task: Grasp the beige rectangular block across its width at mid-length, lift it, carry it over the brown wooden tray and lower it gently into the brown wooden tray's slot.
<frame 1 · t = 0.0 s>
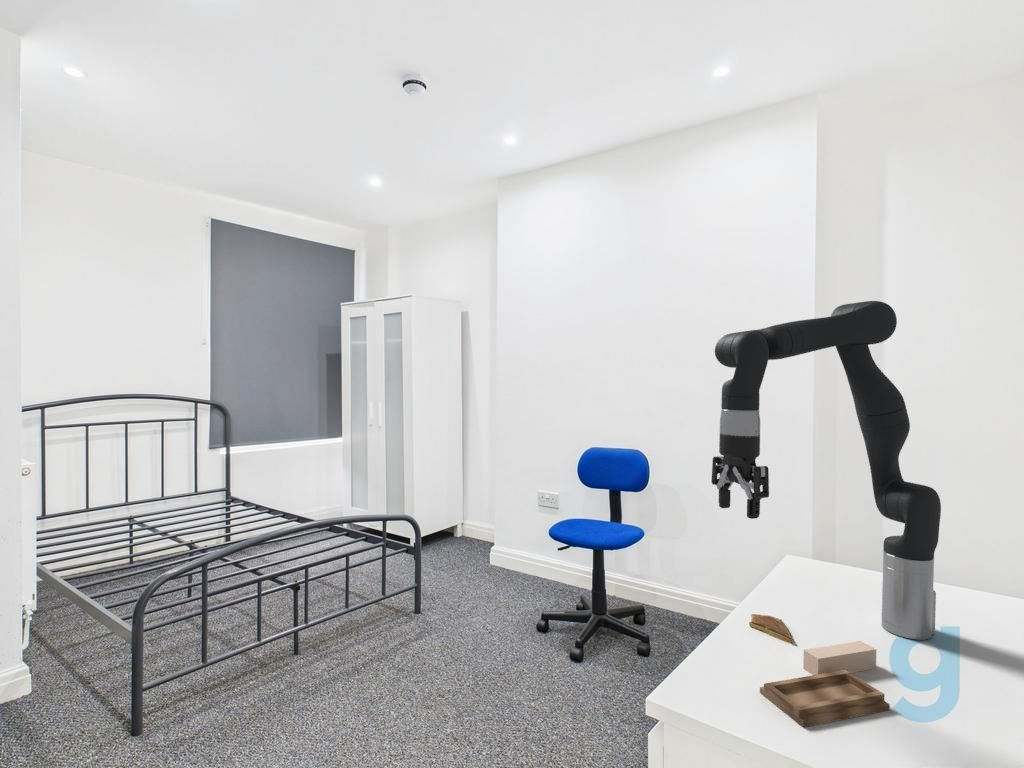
hand: (738, 512, 111), 29 cm above the table, fingers open, 8 cm apart
brown wooden tray: (823, 701, 97), on the table
beige rectangular block: (839, 669, 108), on the table
shard: (775, 632, 124), on the table
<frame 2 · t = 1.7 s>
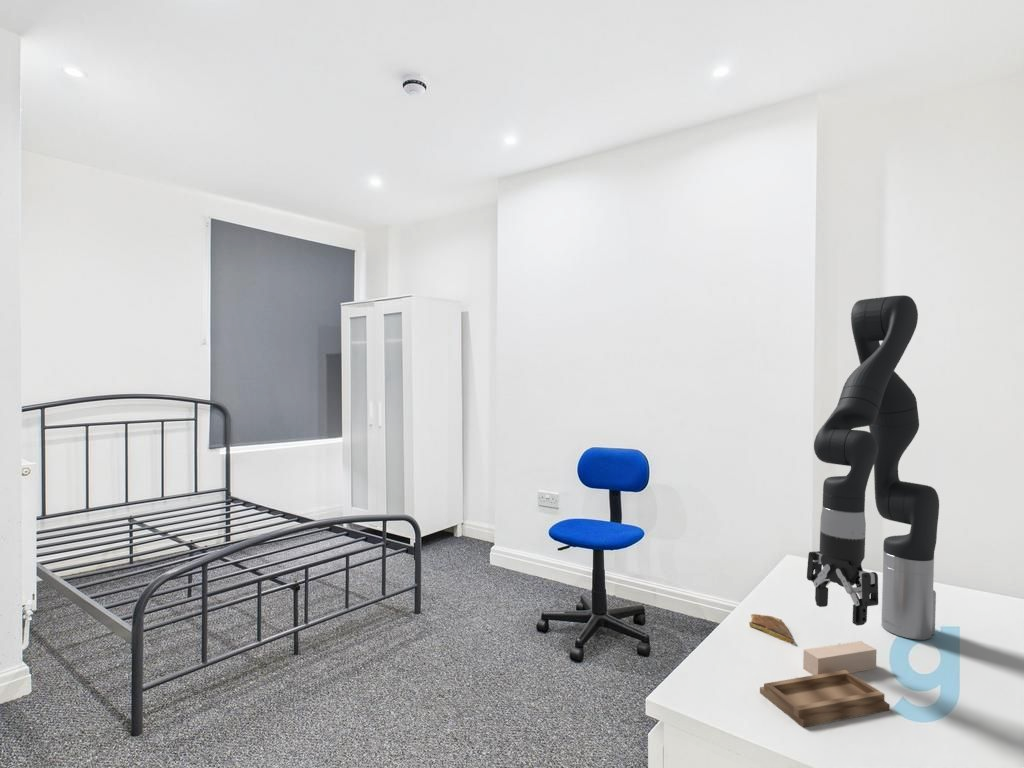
hand: (839, 614, 107), 11 cm above the table, fingers open, 8 cm apart
nothing on the table moved.
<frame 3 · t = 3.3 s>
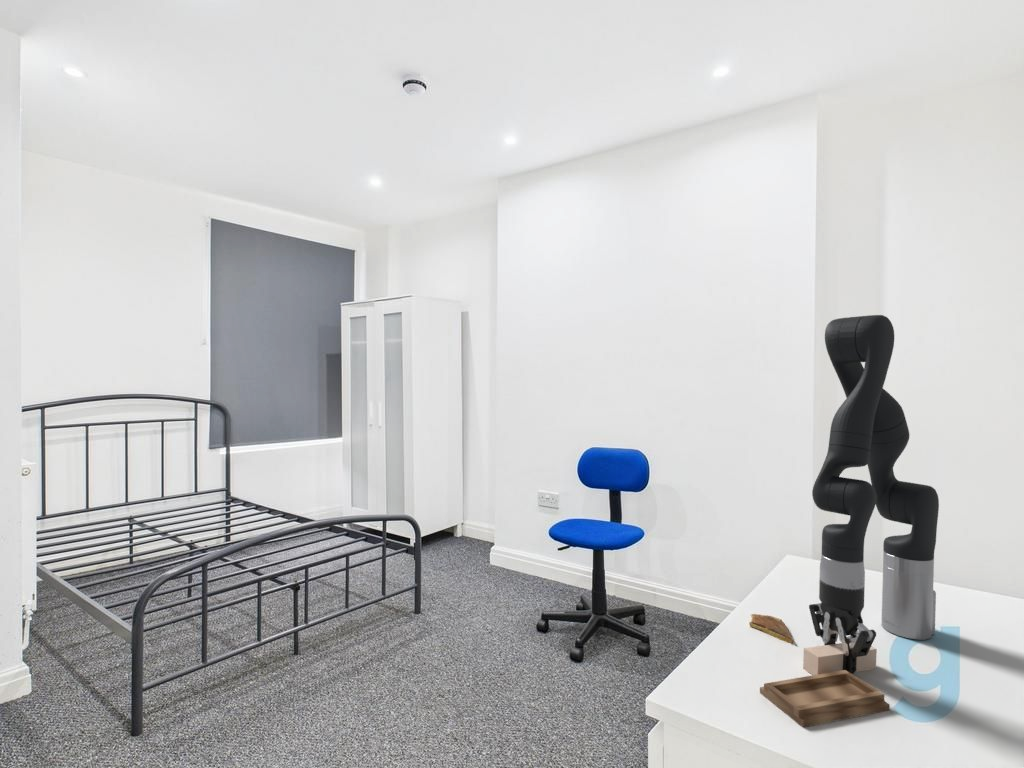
hand: (839, 667, 108), 0 cm above the table, fingers closed on beige rectangular block, 3 cm apart
beige rectangular block: (839, 668, 108), on the table, touching gripper
everything else where it was.
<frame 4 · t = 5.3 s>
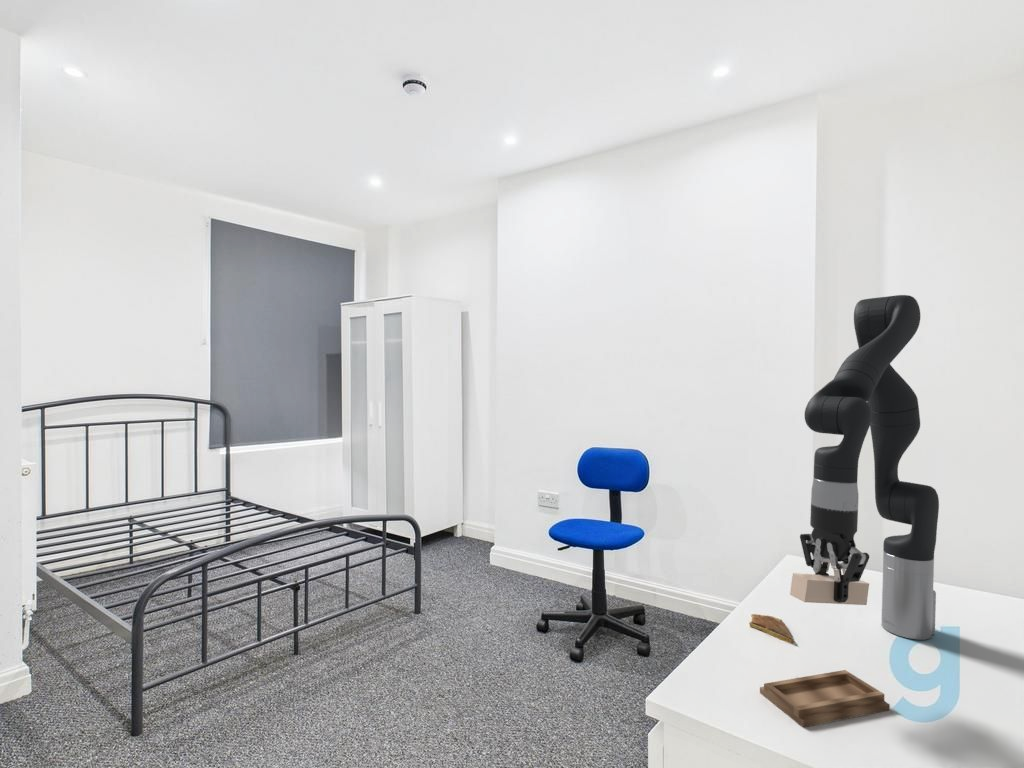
hand: (830, 596, 102), 16 cm above the table, fingers closed on beige rectangular block, 3 cm apart
beige rectangular block: (828, 599, 102), point 16 cm above the table, tilted 8°, touching gripper
everything else where it was.
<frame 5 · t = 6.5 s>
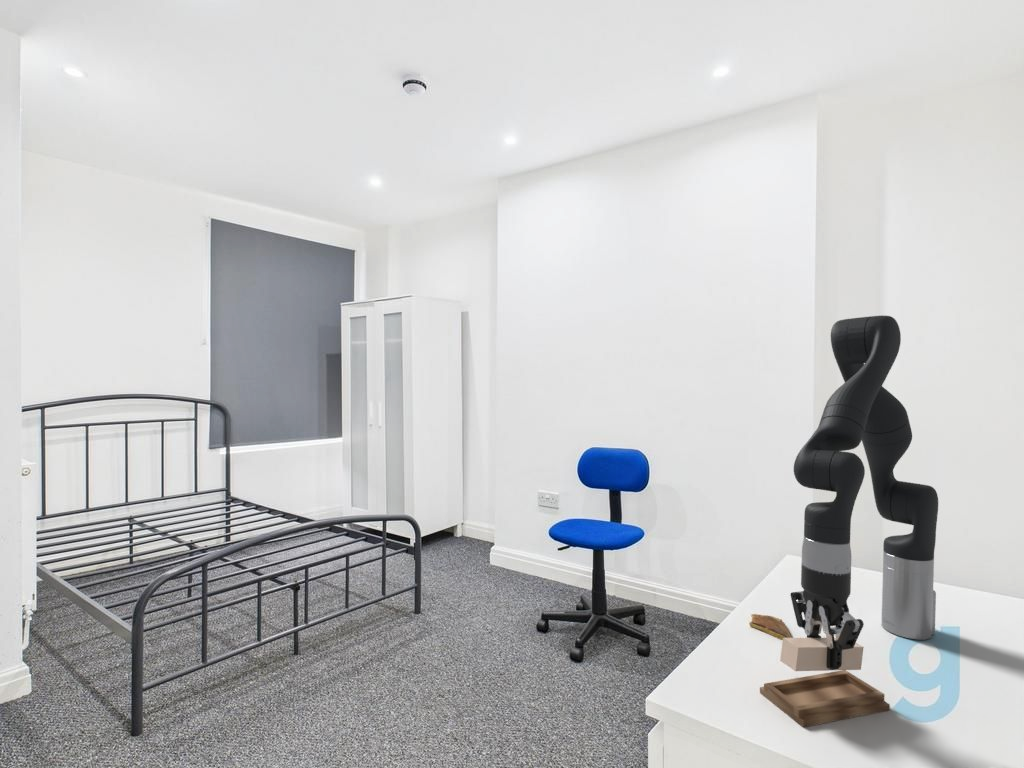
hand: (823, 661, 97), 7 cm above the table, fingers closed on beige rectangular block, 3 cm apart
beige rectangular block: (820, 665, 96), point 6 cm above the table, tilted 7°, touching gripper
everything else where it was.
when the fingers open (3 cm above the table, at t = 7.5 s): beige rectangular block drops 2 cm, resting on brown wooden tray.
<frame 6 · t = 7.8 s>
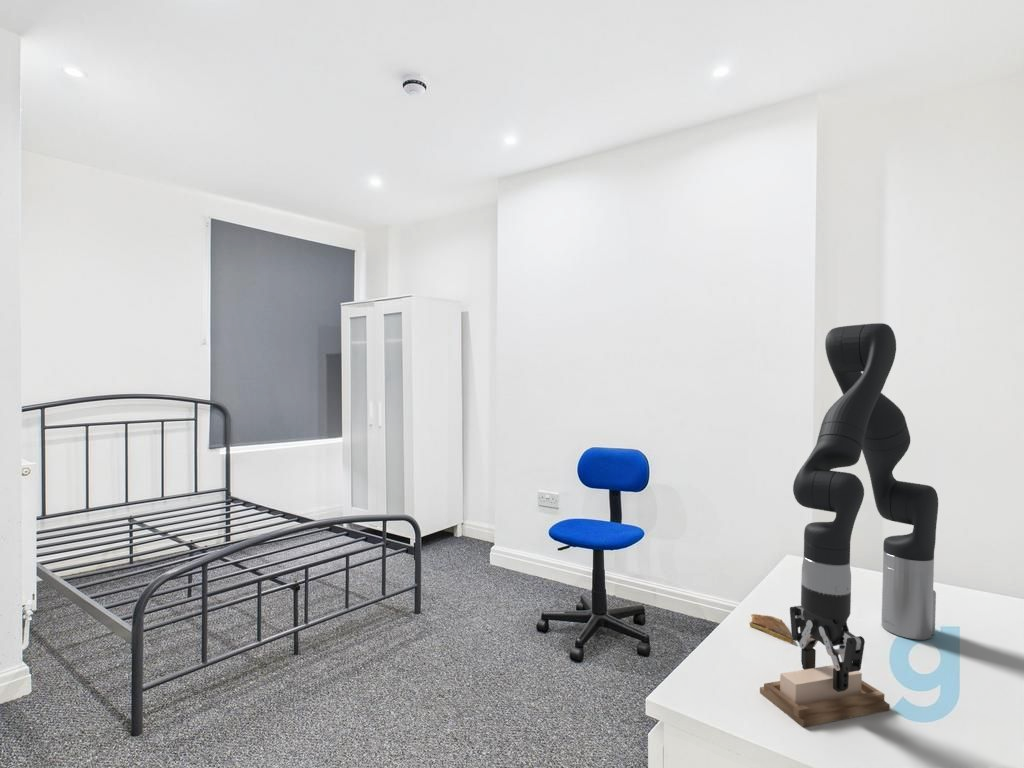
hand: (823, 679, 97), 4 cm above the table, fingers open, 6 cm apart
beige rectangular block: (820, 696, 97), point 1 cm above the table, touching brown wooden tray
everything else where it was.
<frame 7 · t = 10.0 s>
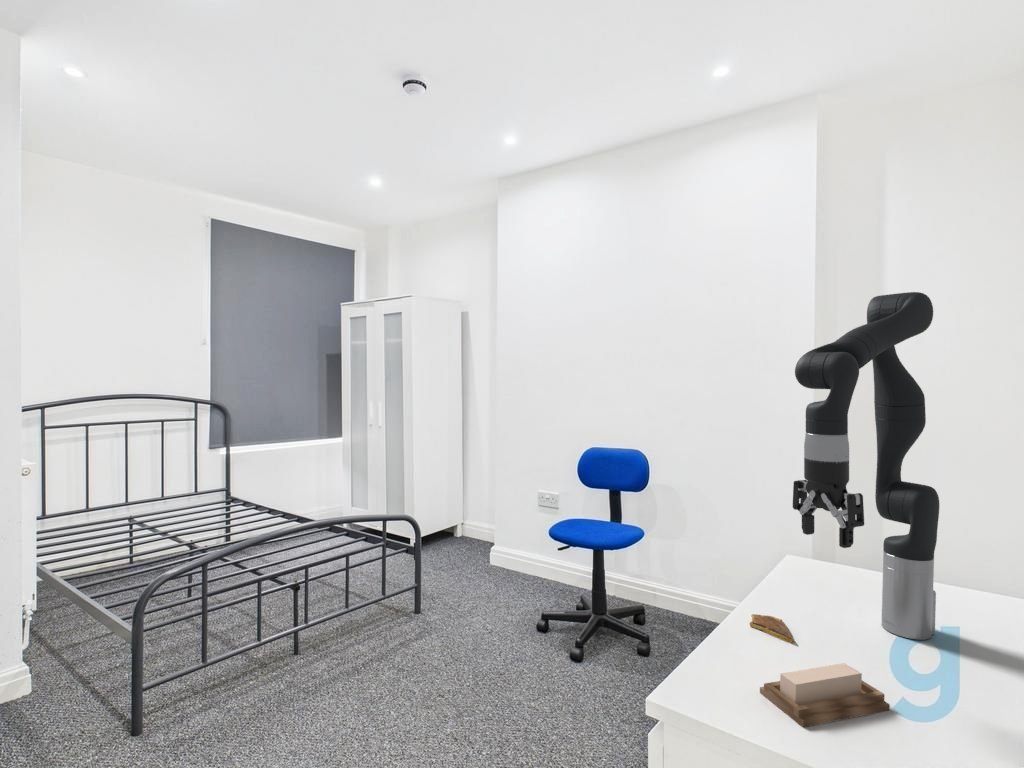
hand: (826, 540, 106), 25 cm above the table, fingers open, 8 cm apart
nothing on the table moved.
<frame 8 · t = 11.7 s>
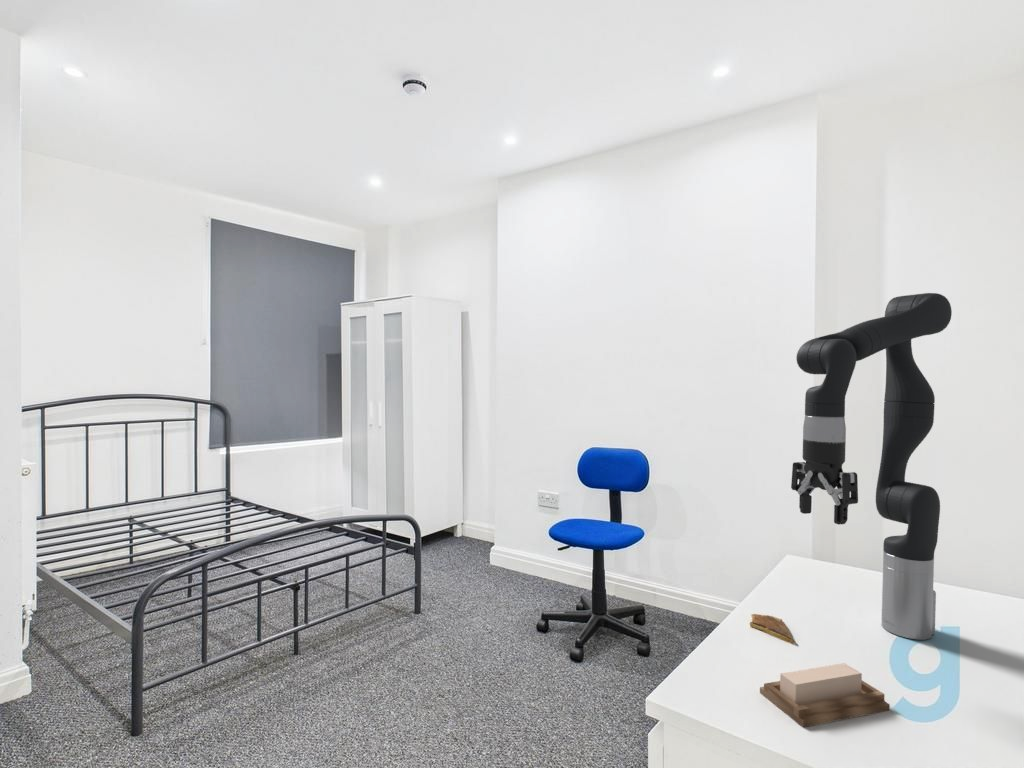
hand: (822, 518, 112), 28 cm above the table, fingers open, 8 cm apart
nothing on the table moved.
at the end: beige rectangular block 0.6 cm off-centre on the brown wooden tray, point 1.0 cm above the brown wooden tray's base; beige rectangular block tilted 0°; the gripper is holding nothing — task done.
